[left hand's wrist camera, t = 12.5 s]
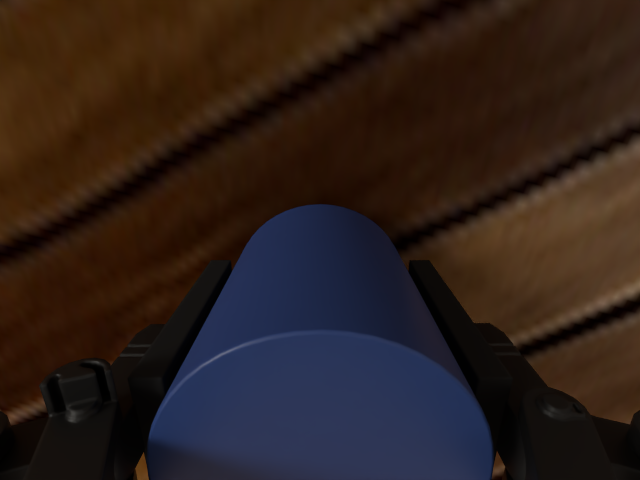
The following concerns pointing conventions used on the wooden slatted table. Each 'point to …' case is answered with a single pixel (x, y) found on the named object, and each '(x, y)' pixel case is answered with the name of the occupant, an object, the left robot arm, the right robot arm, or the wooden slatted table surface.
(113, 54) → the wooden slatted table surface
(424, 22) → the wooden slatted table surface
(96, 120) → the wooden slatted table surface
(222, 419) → the canister
